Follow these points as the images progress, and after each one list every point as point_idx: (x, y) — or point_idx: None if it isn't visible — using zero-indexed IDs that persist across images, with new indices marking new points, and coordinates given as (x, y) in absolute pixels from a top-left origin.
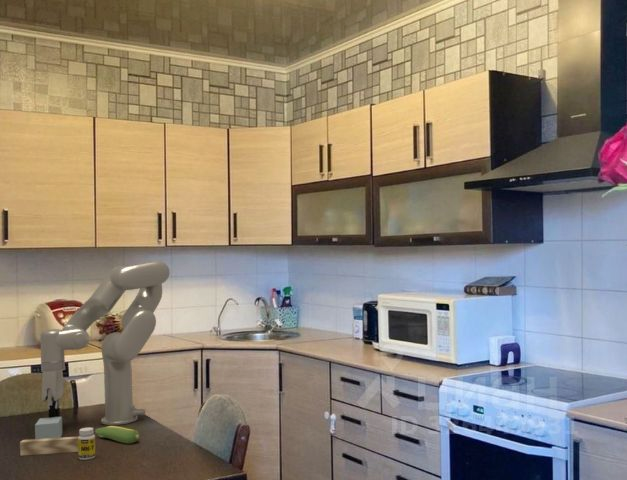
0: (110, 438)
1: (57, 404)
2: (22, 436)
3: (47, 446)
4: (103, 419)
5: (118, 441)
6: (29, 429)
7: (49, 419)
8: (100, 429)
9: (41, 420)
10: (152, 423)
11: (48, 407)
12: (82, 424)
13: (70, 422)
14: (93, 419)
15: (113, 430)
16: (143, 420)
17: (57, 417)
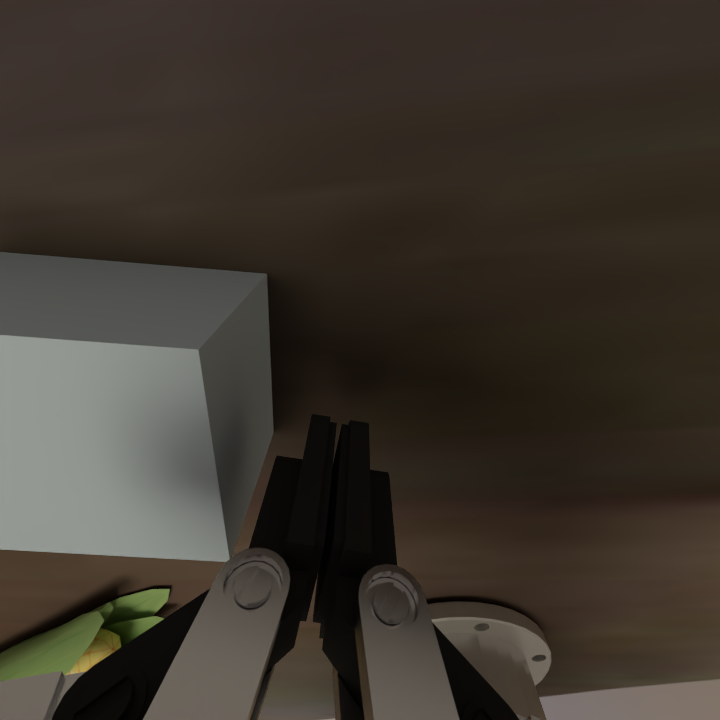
0: (49, 631)
1: (259, 716)
2: (307, 62)
3: None
4: (459, 626)
5: (24, 642)
6: (626, 119)
7: (94, 468)
8: (73, 649)
9: (40, 383)
10: (328, 713)
11: (208, 591)
12: (492, 526)
13: (617, 465)
14: (587, 569)
15: None
16: None
17: (193, 531)
